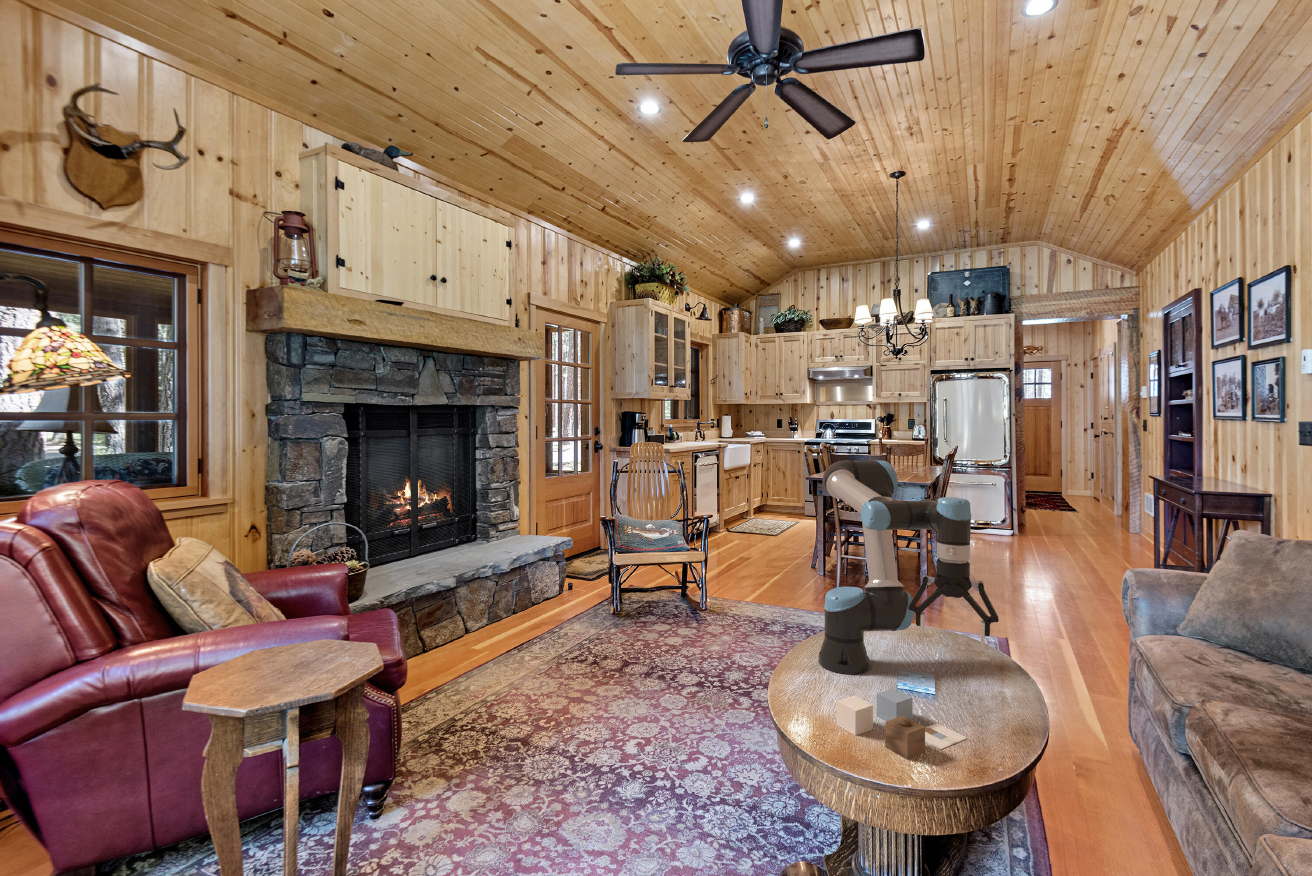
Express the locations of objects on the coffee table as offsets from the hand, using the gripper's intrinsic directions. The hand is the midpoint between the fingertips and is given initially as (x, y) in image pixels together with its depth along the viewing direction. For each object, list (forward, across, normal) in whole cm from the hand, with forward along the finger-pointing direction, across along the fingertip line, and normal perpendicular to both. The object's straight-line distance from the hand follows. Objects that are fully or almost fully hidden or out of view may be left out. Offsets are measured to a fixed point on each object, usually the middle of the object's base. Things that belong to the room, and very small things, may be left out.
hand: (951, 643), depth 150 cm
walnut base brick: (+19, -9, -21) cm, 30 cm away
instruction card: (+19, -2, -10) cm, 22 cm away
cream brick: (+20, -21, -15) cm, 32 cm away
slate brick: (+20, -13, -6) cm, 24 cm away
